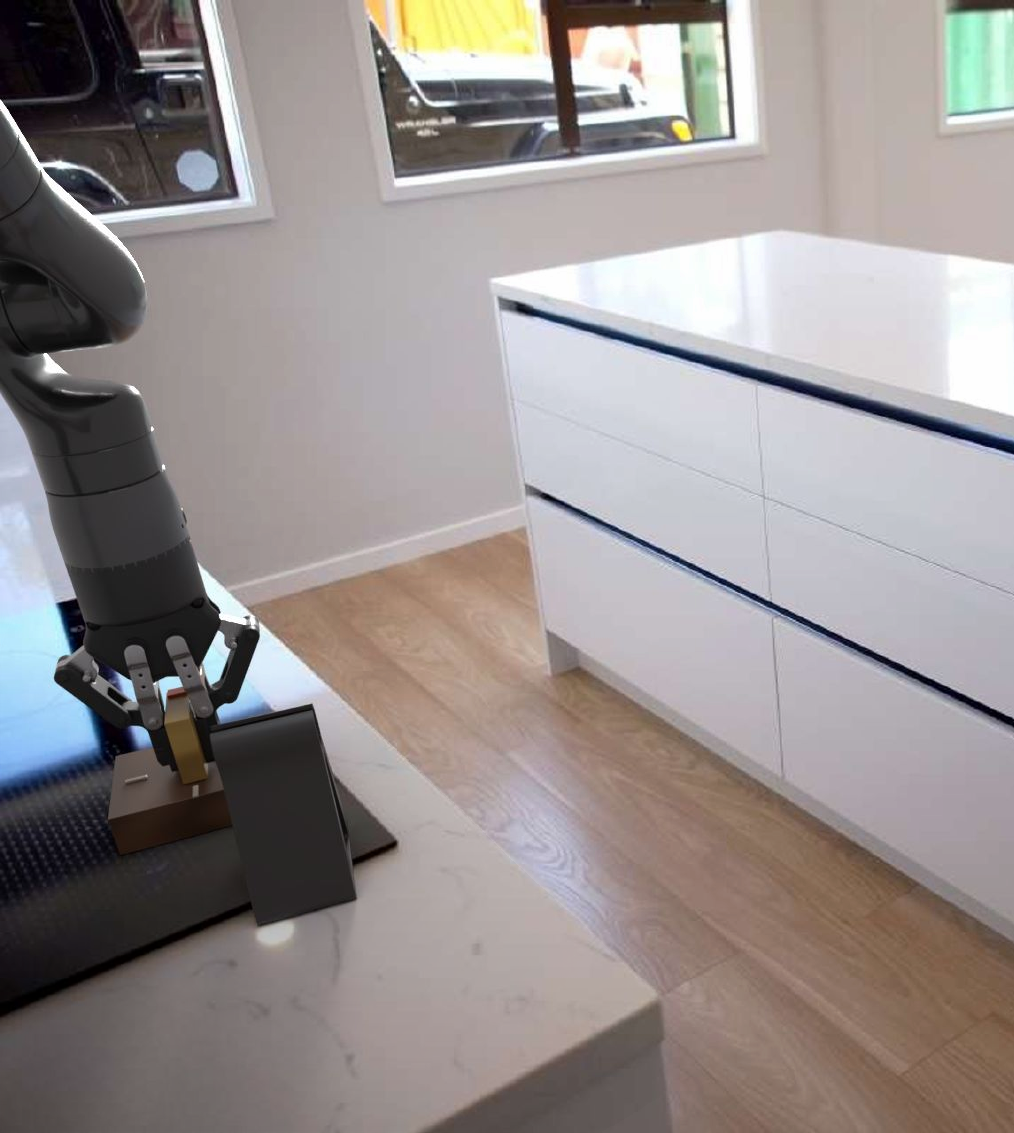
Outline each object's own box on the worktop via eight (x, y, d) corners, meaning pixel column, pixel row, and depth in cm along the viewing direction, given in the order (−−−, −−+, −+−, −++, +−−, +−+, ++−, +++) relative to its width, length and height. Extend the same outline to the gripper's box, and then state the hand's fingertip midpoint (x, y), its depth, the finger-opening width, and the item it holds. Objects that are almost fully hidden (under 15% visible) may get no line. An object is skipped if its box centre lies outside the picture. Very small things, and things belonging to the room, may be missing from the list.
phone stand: (356, 900, 83) (315, 740, 78) (256, 927, 81) (206, 766, 76) (349, 825, 90) (310, 675, 85) (257, 849, 88) (212, 697, 83)
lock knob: (208, 778, 91) (188, 714, 89) (183, 784, 91) (162, 720, 88) (208, 745, 95) (189, 683, 93) (184, 751, 95) (165, 689, 93)
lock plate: (120, 856, 88) (106, 818, 87) (127, 789, 96) (115, 753, 95) (290, 810, 92) (280, 773, 91) (284, 749, 100) (274, 714, 99)
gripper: (-1, 584, 80) (85, 815, 87) (237, 537, 85) (299, 760, 92) (15, 543, 86) (93, 762, 94) (235, 502, 91) (294, 713, 98)
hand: (195, 760), depth 93 cm, fingers closed on lock knob, 2 cm apart
